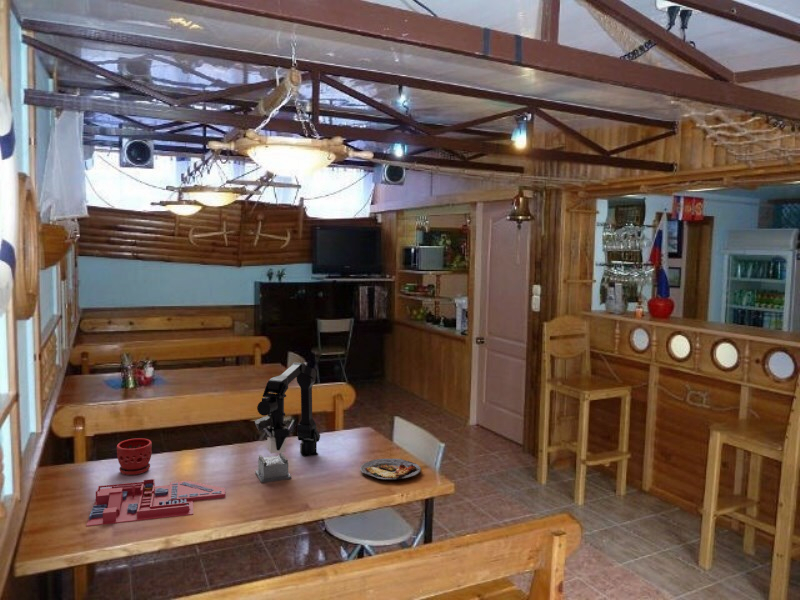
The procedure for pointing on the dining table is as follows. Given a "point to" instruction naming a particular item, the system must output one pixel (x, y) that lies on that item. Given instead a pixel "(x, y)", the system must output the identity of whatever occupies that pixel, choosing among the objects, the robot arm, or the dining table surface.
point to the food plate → (390, 469)
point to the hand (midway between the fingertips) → (276, 447)
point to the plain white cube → (272, 445)
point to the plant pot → (134, 456)
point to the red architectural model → (148, 501)
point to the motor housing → (272, 468)
